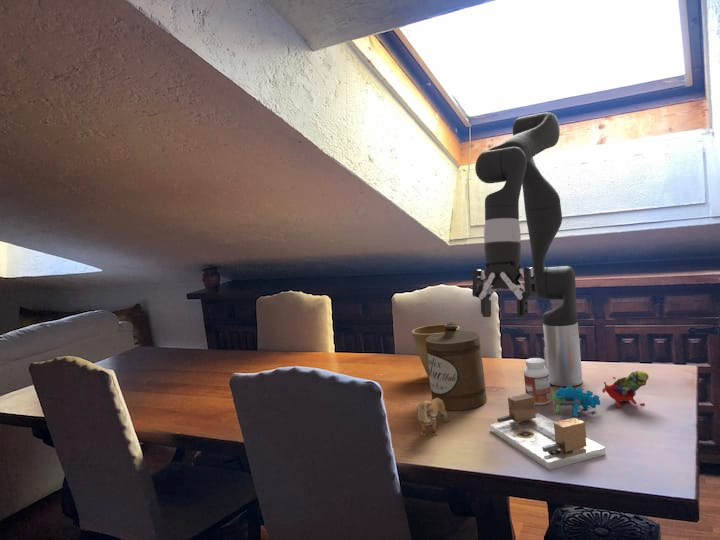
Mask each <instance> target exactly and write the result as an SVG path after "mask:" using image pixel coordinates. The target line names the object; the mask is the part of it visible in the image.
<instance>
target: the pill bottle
mask: <svg viewBox="0 0 720 540" xmlns="http://www.w3.org/2000/svg"><path fill="white" fill-rule="evenodd" d="M525 365H526V368H525V369H524V371H523V377H524V379H523V380H524V390H525V394H526V393H527V394H529V395H531V396H533V397H534V403H535V406H544V405H548V404H549V403H551V402H552V395H551V393H552V392H551V384H550V381H549V371H548V370H547V369H546V368H545V359H544V358H540V357H530V358H527V359H526V360H525Z"/></svg>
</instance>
